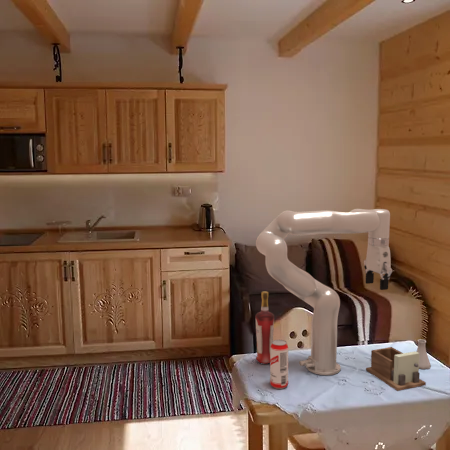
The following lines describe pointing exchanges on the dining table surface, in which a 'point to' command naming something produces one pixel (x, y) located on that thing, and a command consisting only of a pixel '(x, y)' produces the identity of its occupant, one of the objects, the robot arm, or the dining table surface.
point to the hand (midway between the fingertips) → (376, 286)
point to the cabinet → (390, 369)
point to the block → (406, 366)
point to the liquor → (264, 331)
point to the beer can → (279, 364)
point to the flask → (423, 355)
